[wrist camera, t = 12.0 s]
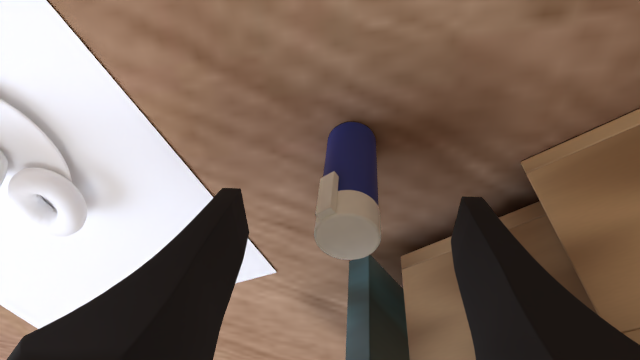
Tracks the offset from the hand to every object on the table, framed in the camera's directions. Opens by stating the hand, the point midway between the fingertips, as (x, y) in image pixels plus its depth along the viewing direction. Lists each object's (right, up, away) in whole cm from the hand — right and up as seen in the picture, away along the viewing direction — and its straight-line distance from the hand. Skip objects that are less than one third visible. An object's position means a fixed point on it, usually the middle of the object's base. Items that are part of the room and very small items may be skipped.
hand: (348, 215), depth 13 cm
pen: (0, +3, +3) cm, 4 cm away
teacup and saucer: (-17, 0, +8) cm, 18 cm away
